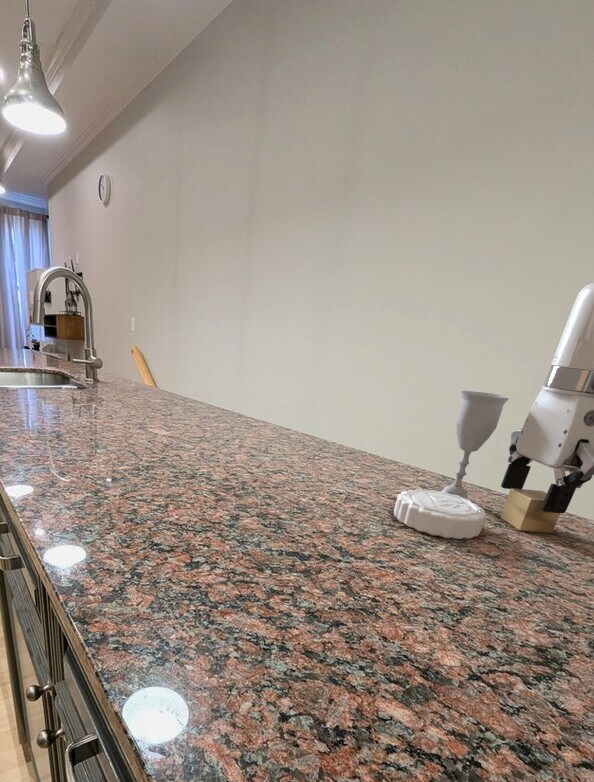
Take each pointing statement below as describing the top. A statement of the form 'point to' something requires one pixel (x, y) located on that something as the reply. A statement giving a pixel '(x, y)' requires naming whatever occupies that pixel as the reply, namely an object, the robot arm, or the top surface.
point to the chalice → (474, 429)
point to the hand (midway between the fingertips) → (530, 499)
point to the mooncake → (439, 513)
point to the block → (528, 511)
